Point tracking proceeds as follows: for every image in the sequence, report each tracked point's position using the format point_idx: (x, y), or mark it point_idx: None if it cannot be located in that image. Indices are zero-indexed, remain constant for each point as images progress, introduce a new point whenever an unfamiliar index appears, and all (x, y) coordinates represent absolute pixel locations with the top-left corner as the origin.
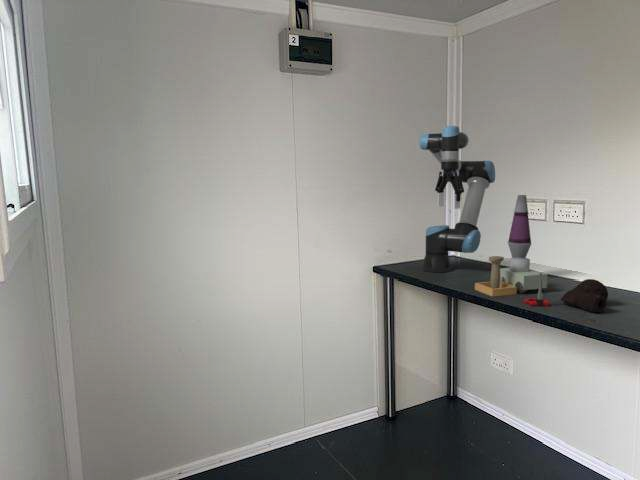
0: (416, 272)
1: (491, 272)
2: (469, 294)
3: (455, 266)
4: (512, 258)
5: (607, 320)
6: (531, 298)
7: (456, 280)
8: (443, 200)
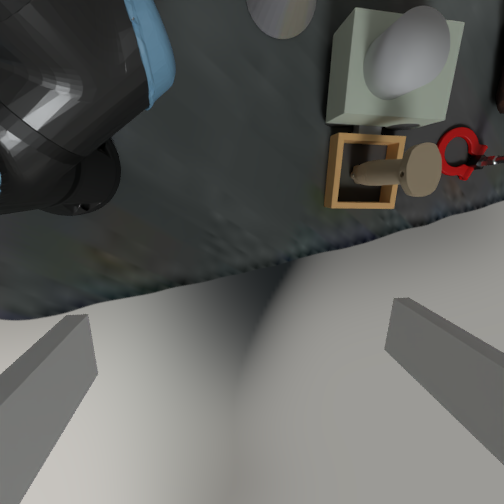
0: (97, 246)
1: (384, 184)
2: (349, 241)
3: None
4: (399, 66)
5: None
6: (442, 145)
7: (228, 192)
8: (37, 371)
